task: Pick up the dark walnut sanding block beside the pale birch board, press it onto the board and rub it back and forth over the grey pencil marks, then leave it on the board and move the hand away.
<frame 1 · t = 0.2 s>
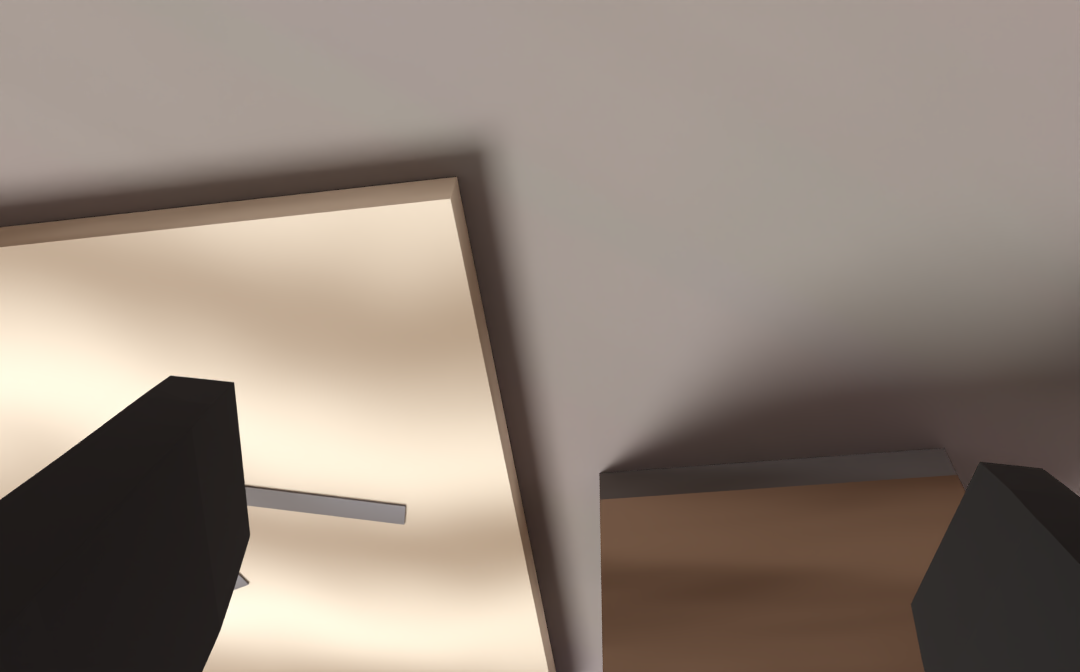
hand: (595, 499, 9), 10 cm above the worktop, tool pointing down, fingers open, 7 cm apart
board: (168, 505, 23), on the worktop
sanding block: (767, 519, 23), on the worktop
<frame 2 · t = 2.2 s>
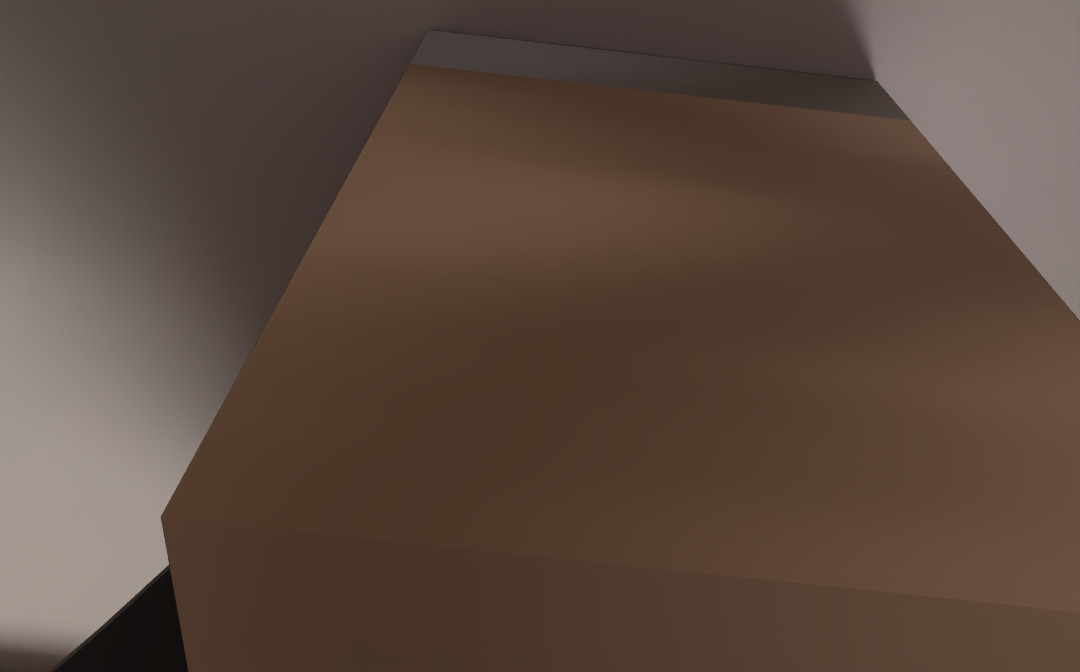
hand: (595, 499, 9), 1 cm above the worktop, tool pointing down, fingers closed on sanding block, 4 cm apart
sanding block: (593, 410, 10), on the worktop, touching gripper
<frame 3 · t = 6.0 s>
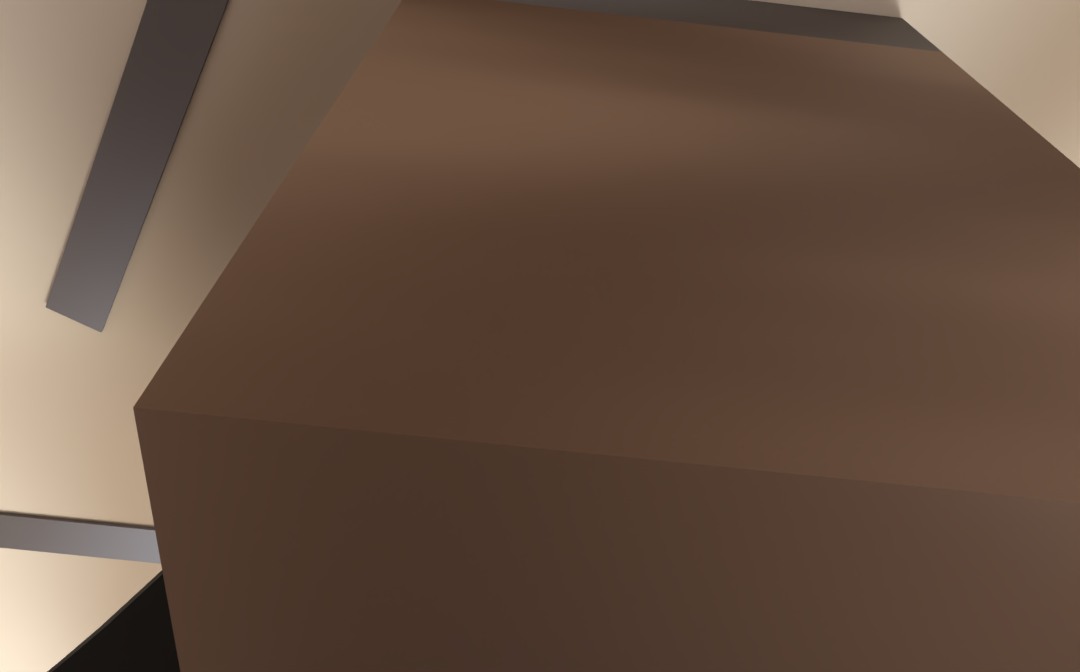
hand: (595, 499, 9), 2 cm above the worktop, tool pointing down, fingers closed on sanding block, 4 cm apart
board: (283, 286, 11), on the worktop
sanding block: (599, 377, 10), point 1 cm above the worktop, touching gripper
when the fingers open (2 cm above the worktop, at t = 11.1 s): sanding block stays where it is, resting on board.
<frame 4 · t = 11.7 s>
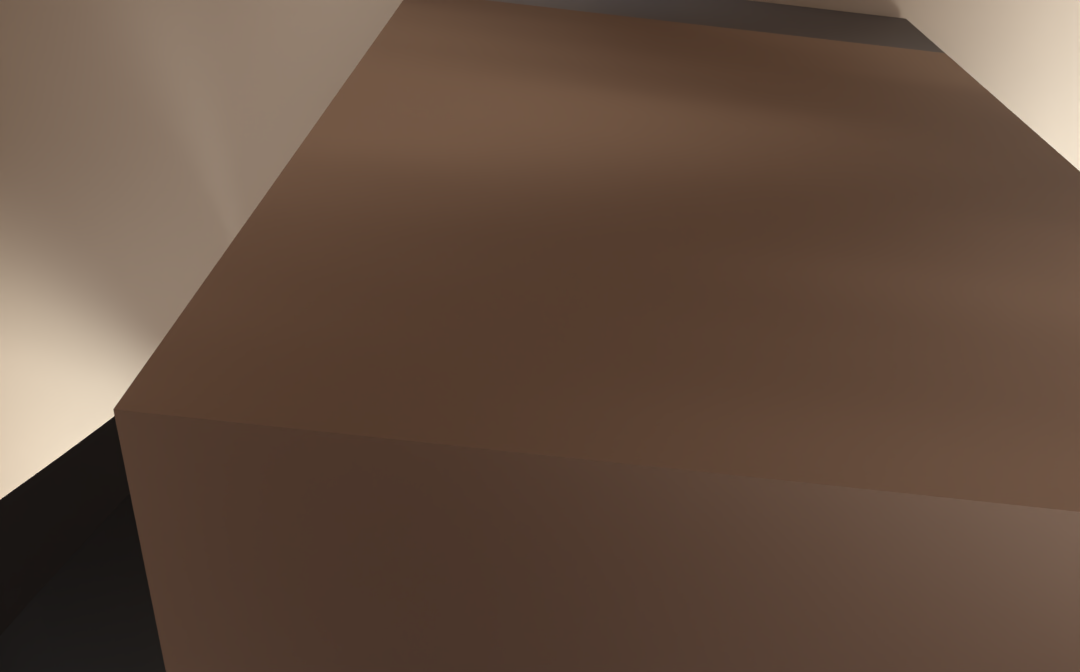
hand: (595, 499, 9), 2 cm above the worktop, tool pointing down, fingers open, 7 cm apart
board: (593, 366, 11), on the worktop
sanding block: (602, 377, 10), point 1 cm above the worktop, touching board
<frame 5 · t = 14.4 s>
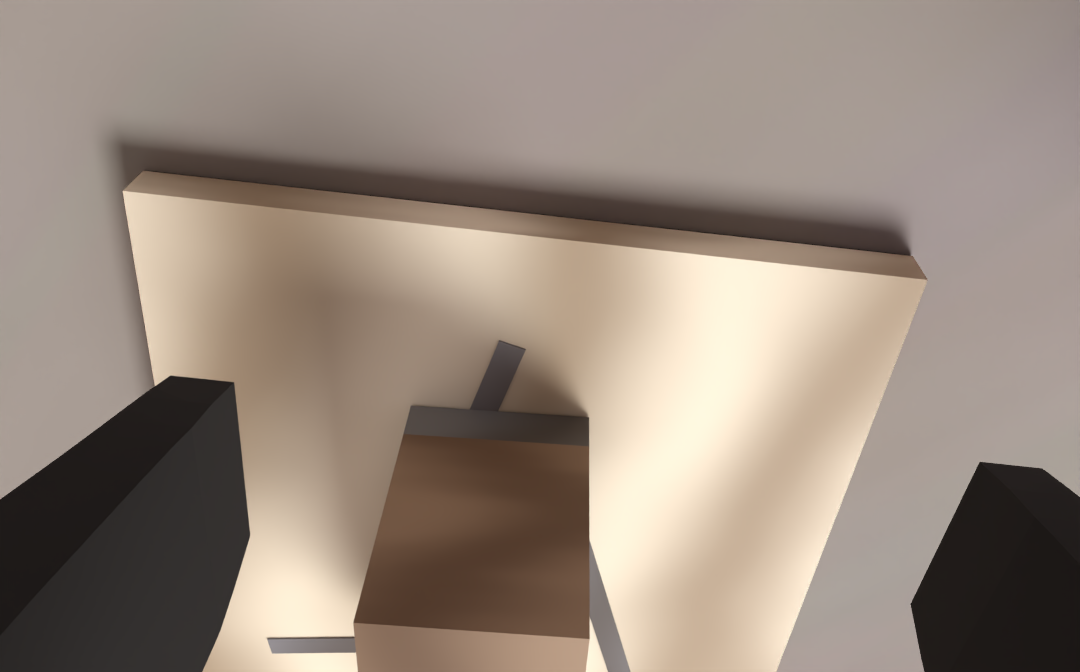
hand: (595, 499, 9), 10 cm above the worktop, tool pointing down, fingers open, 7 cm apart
board: (498, 525, 24), on the worktop
sanding block: (495, 538, 23), point 1 cm above the worktop, touching board
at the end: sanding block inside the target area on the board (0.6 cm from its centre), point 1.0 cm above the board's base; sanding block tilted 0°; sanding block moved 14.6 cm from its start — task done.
